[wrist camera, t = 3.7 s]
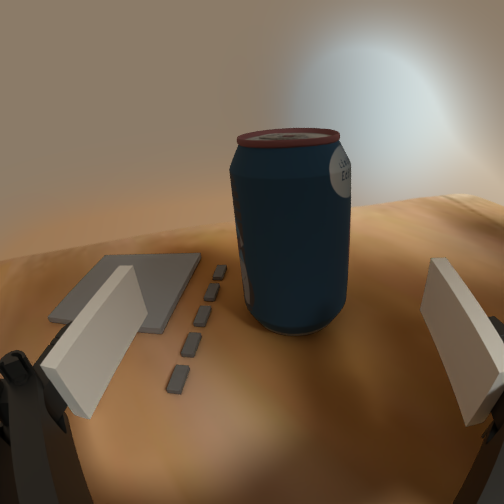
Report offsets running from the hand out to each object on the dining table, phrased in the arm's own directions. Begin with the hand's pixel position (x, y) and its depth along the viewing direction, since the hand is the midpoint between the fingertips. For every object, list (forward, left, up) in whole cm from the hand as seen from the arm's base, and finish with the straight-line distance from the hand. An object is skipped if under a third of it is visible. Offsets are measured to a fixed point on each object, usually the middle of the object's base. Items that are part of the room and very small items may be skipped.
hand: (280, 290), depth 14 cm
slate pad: (+14, -10, -6) cm, 18 cm away
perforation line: (+6, -6, -6) cm, 11 cm away
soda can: (-1, -7, -7) cm, 10 cm away
